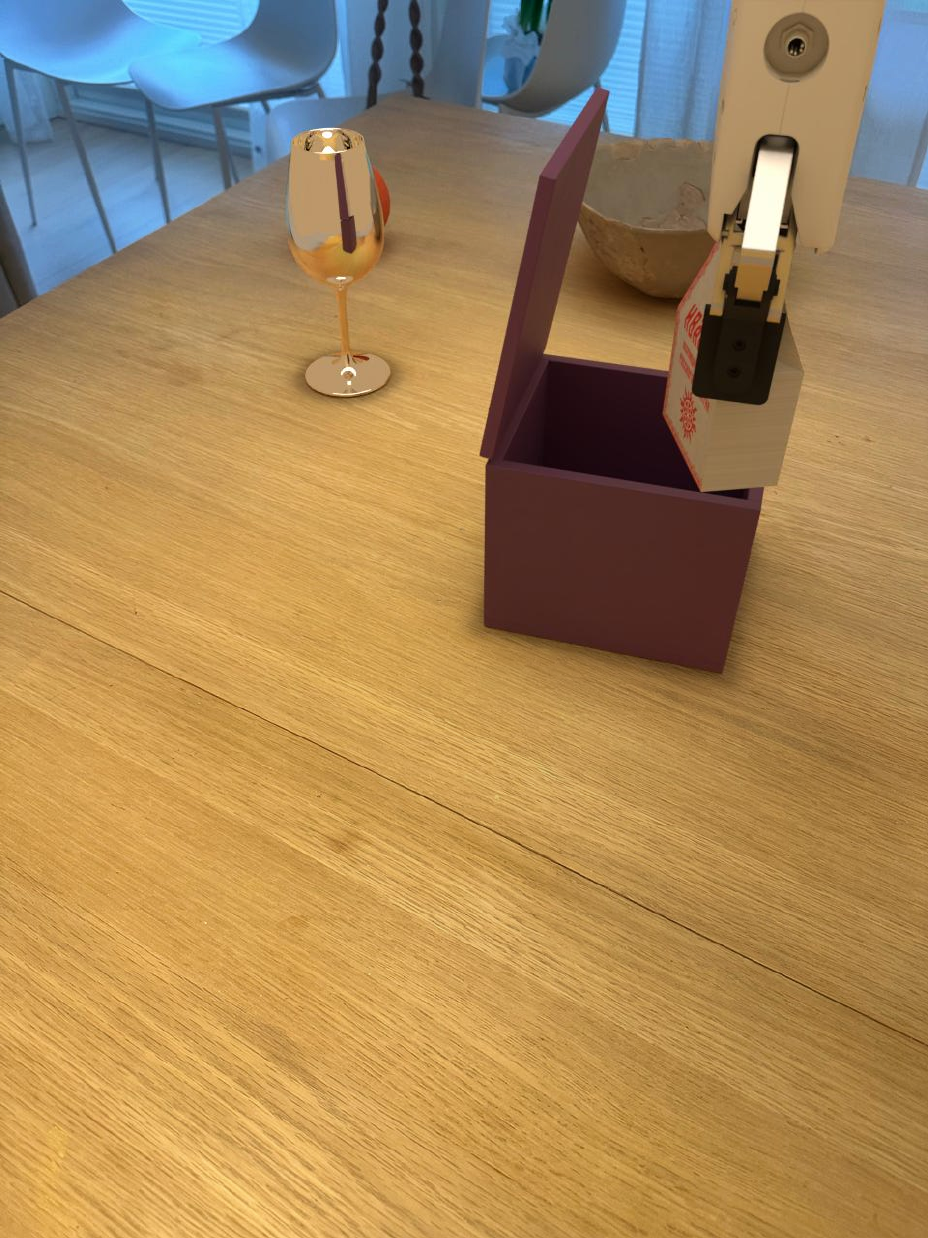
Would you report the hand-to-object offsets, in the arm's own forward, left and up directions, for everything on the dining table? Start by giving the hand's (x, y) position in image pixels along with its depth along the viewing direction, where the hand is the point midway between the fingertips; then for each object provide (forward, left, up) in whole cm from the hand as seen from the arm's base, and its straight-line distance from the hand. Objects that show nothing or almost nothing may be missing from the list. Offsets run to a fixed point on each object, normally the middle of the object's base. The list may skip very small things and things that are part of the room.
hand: (736, 348), depth 48 cm
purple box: (+5, -10, -24) cm, 26 cm away
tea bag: (0, 0, -6) cm, 6 cm away
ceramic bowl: (+9, -58, -24) cm, 64 cm away
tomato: (+43, -56, -24) cm, 75 cm away
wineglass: (+33, -31, -24) cm, 51 cm away
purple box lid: (+11, -10, -3) cm, 15 cm away
